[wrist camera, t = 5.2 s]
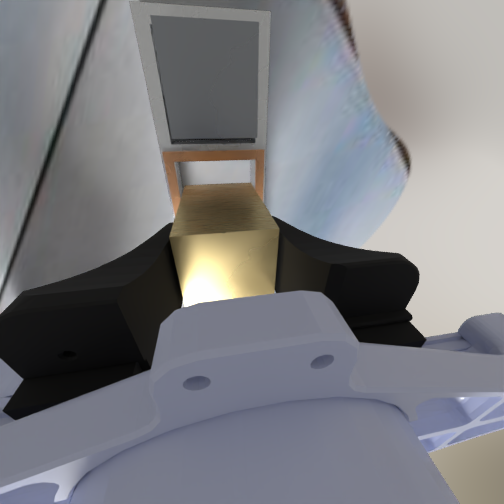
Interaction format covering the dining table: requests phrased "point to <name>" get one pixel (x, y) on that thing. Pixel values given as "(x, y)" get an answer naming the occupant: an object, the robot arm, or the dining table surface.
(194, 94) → the gunmetal nut block
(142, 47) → the zinc tray
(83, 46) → the dining table surface
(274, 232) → the golden block
